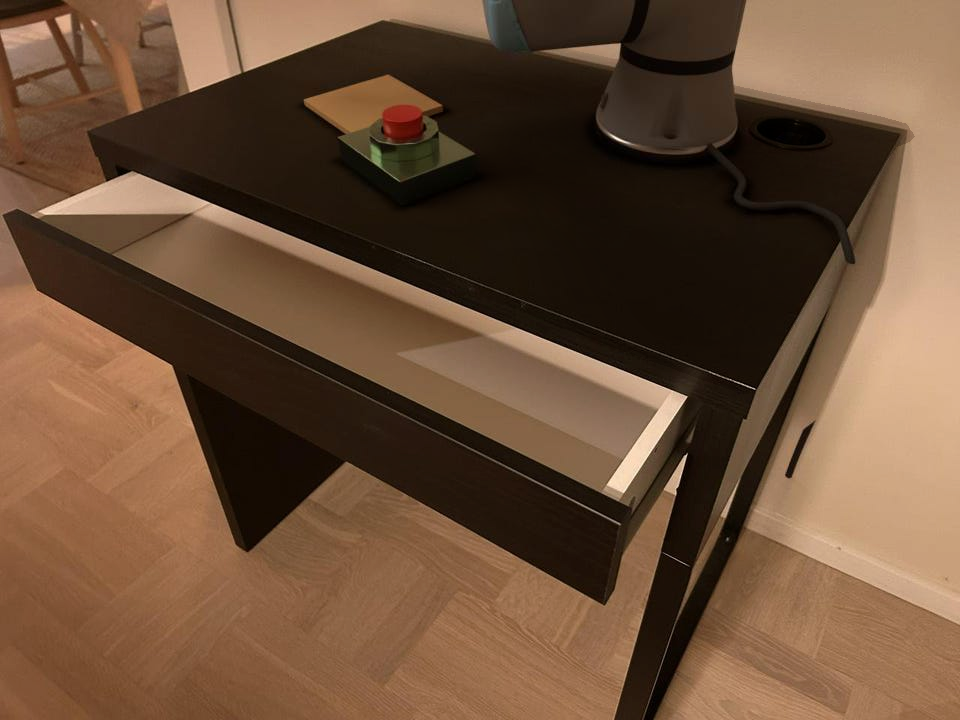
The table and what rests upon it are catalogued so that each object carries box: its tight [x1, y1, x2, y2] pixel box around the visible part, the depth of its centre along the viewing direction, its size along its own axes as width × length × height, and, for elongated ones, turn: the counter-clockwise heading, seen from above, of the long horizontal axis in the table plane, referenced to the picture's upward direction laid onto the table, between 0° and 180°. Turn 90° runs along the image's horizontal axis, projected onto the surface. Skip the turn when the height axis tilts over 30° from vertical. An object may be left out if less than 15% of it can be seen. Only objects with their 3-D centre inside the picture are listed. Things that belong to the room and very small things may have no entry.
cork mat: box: [303, 74, 444, 135], centre depth 89 cm, size 12×12×1 cm
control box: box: [337, 116, 477, 207], centre depth 77 cm, size 12×9×4 cm
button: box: [382, 105, 424, 139], centre depth 75 cm, size 4×4×2 cm
